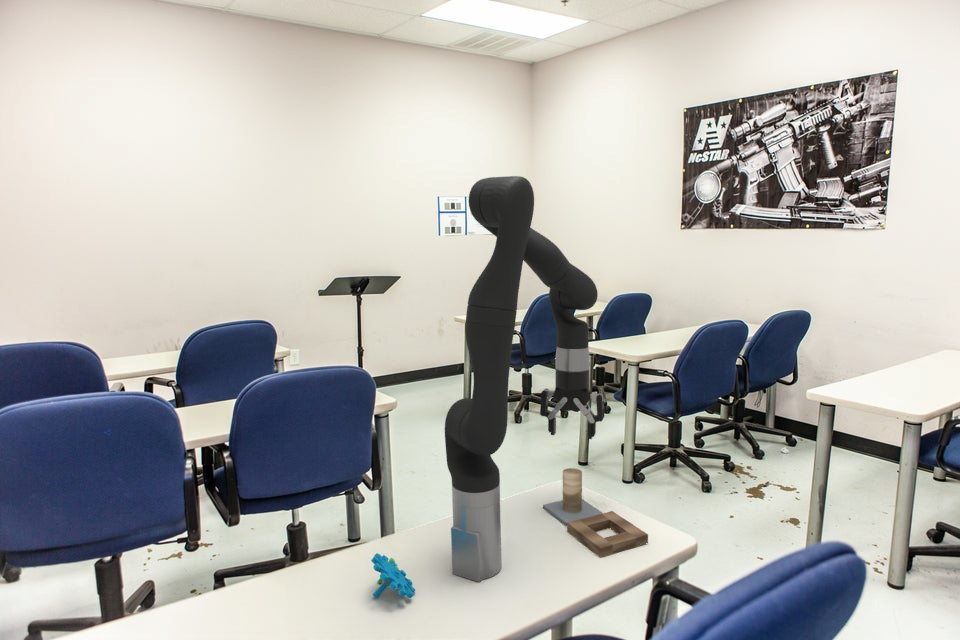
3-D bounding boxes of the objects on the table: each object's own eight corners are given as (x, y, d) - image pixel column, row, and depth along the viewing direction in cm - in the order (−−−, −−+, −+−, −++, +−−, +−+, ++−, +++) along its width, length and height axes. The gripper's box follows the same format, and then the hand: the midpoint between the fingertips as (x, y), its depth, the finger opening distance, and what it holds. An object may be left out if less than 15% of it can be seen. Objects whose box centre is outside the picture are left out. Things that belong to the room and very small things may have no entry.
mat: (603, 516, 137) (603, 513, 136) (566, 526, 132) (566, 522, 132) (578, 499, 146) (578, 496, 146) (542, 508, 142) (542, 504, 141)
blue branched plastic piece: (418, 601, 104) (375, 564, 103) (395, 627, 103) (351, 591, 102) (416, 574, 115) (377, 541, 114) (395, 598, 114) (356, 565, 113)
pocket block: (647, 543, 124) (648, 534, 124) (600, 557, 119) (600, 548, 119) (612, 519, 135) (612, 510, 135) (567, 531, 130) (567, 522, 130)
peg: (577, 514, 136) (577, 477, 135) (559, 510, 138) (559, 473, 137) (584, 507, 140) (584, 470, 138) (567, 503, 142) (567, 466, 141)
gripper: (537, 368, 133) (537, 438, 135) (601, 372, 128) (600, 444, 131) (545, 361, 140) (545, 428, 142) (606, 365, 135) (605, 434, 138)
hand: (571, 436), depth 137 cm, fingers open, 8 cm apart
